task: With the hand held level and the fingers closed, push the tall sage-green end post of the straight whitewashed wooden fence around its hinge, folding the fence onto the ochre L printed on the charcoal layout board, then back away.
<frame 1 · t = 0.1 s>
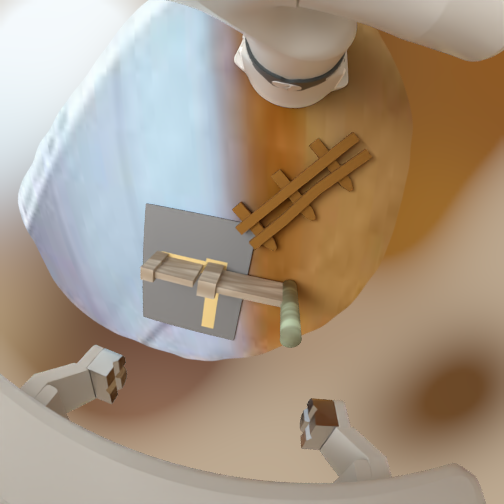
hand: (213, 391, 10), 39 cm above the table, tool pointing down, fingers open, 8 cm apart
layout board: (191, 277, 53), on the table
fixed fence section: (216, 269, 52), resting on layout board
swinging fence section: (247, 300, 44), point 8 cm above the table, hinge at 0.0°
decorative fence: (302, 189, 45), on the table, touching layout board
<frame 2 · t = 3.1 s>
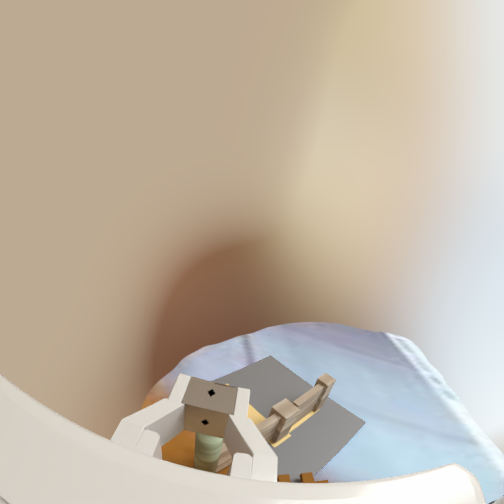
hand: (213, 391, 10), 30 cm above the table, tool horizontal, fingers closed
layout board: (279, 413, 43), on the table
fixed fence section: (274, 435, 38), resting on layout board
swinging fence section: (251, 428, 30), point 8 cm above the table, hinge at 0.0°
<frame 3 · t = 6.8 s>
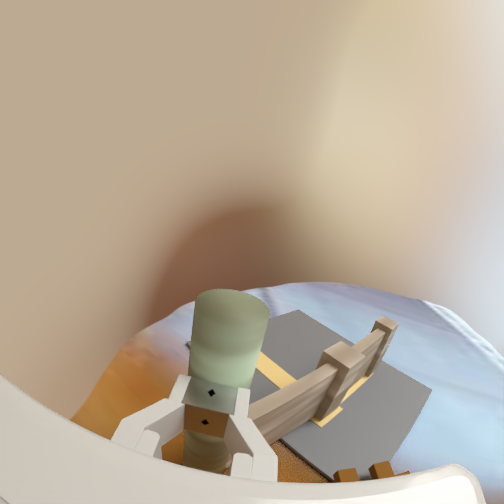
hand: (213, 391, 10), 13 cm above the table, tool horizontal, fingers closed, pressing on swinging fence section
layout board: (320, 379, 30), on the table
fixed fence section: (317, 410, 25), resting on layout board
swinging fence section: (295, 380, 18), point 8 cm above the table, hinge at 0.9°, touching gripper
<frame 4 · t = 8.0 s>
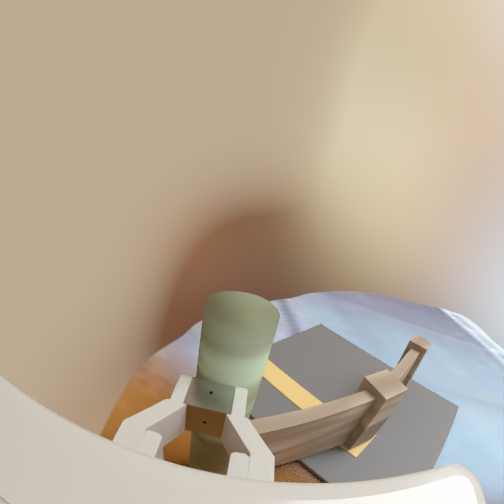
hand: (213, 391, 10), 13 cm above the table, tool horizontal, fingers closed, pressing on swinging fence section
layout board: (350, 402, 26), on the table
fixed fence section: (349, 438, 21), resting on layout board
swinging fence section: (322, 401, 16), point 8 cm above the table, hinge at 19.3°, touching gripper
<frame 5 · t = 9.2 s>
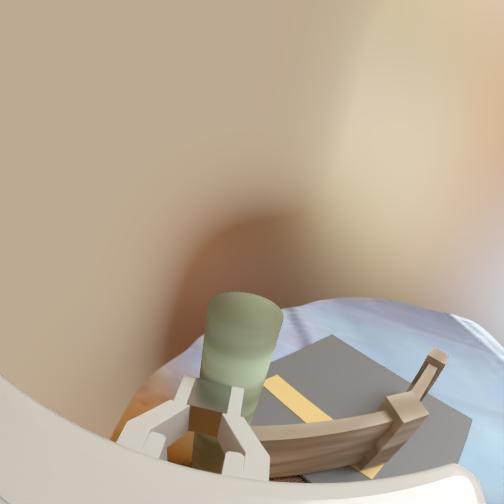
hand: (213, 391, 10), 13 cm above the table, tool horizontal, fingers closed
layout board: (365, 420, 23), on the table
fixed fence section: (364, 458, 18), resting on layout board
swinging fence section: (334, 417, 14), point 8 cm above the table, hinge at 30.9°, touching gripper
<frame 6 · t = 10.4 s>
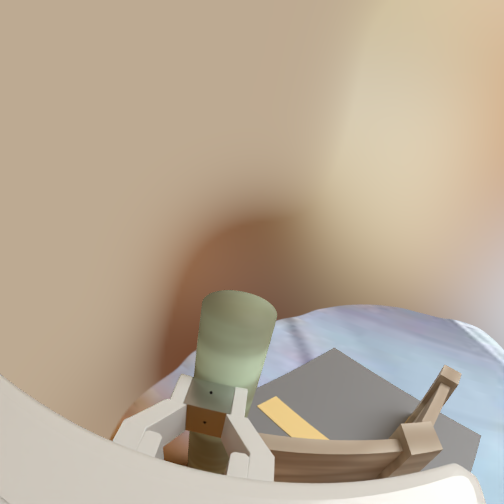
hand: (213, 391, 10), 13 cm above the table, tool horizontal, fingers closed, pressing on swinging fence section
layout board: (371, 443, 20), on the table
fixed fence section: (371, 486, 15), resting on layout board
swinging fence section: (336, 437, 13), point 8 cm above the table, hinge at 45.5°, touching gripper
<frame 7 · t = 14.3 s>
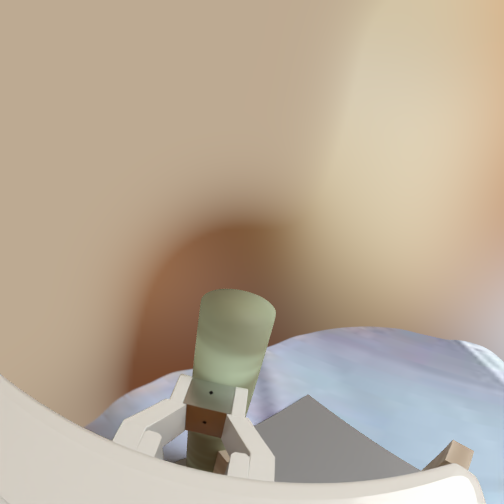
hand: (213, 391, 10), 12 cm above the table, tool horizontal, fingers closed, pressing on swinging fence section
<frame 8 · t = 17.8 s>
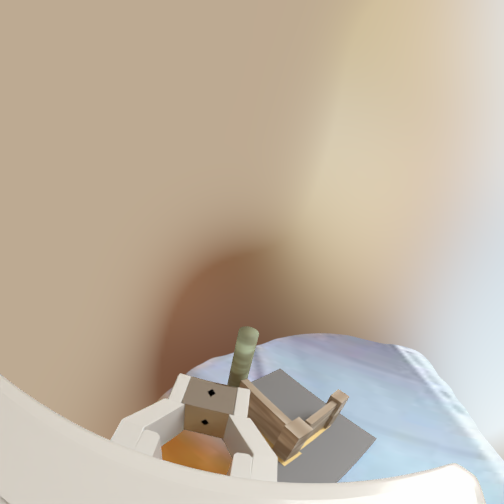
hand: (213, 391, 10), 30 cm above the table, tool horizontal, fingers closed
layout board: (289, 430, 39), on the table
fixed fence section: (283, 453, 34), resting on layout board
swinging fence section: (267, 396, 37), point 8 cm above the table, hinge at 92.4°
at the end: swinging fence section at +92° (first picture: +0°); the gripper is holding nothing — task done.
